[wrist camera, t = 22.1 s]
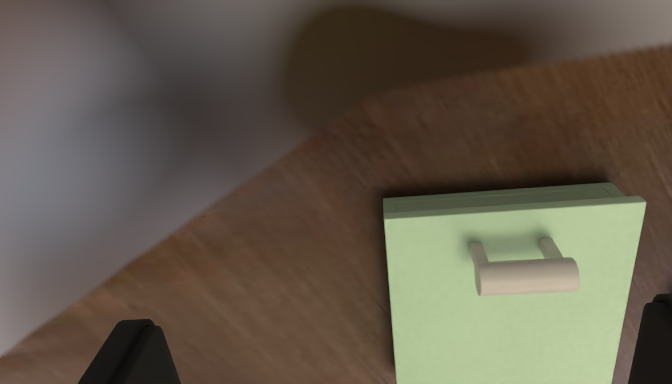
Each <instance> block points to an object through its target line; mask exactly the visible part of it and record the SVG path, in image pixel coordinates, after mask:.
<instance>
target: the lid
mask: <svg viewBox="0 0 672 384" xmlns="http://www.w3.org/2000/svg"><path fill="white" fill-rule="evenodd" d="M645 207H646V201H645V200H644V199H643V198H642V197H640V196H631V197H616V198H601V199H587V200H572V201H557V202H542V203H527V204H513V205H498V206H483V207H468V208H453V209H439V210H424V211H409V212H394V213H384V228H385V241H386V254H387V267H388V280H389V293H390V306H391V319H392V332H393V345H394V358H395V371H396V384H611V382H612V377H613V372H614V367H615V361H616V356H617V351H618V346H619V341H620V336H621V331H622V325H623V320H624V315H625V310H626V305H627V300H628V294H629V289H630V284H631V279H632V274H633V269H634V264H635V258H636V253H637V248H638V243H639V238H640V233H641V228H642V222H643V217H644V212H645Z"/></svg>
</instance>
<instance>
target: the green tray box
mask: <svg viewBox="0 0 672 384" xmlns="http://www.w3.org/2000/svg"><path fill="white" fill-rule="evenodd" d="M616 197H626V196H625V195H624V194H623V193H622V192H621V191H620V190H619V189H618V188H616V186H615V185H614V184H613V183H611V182H607V183H593V184H579V185H565V186H551V187H537V188H523V189H508V190H494V191H480V192H466V193H452V194H438V195H423V196H409V197H395V198H384V199H383V210H384V213H394V212H409V211H424V210H439V209H453V208H468V207H483V206H498V205H513V204H527V203H542V202H557V201H572V200H587V199H601V198H616Z"/></svg>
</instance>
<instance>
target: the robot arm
mask: <svg viewBox="0 0 672 384" xmlns="http://www.w3.org/2000/svg"><path fill="white" fill-rule="evenodd" d="M78 384H181V383H180V380H179V377H178V374H177V371H176V368H175V365H174V362H173V359H172V356H171V353H170V351H169V348H168V345H167V342H166V339H165V336H164V333H163V330H162V328H161V327H160V326H155V325H154V323H153V322H152V321H151V320H150V319H139V320H122V321H120V322H119V323H118V324H117V325H116V326H115V328H114V329H113V331H112V332H111V334H110V335H109V337H108V338H107V340H106V341H105V343H104V344H103V346H102V347H101V349H100V350H99V352H98V353H97V355H96V356H95V358H94V360H93V361H92V363H91V364H90V366H89V367H88V369H87V370H86V372H85V373H84V375H83V376H82V378H81V379H80V381H79V382H78ZM628 384H672V294H659V295H656V296H655V297H654V299H653V302H652V303H647V304H646V305H645V306H644V310H643V314H642V319H641V324H640V329H639V334H638V338H637V343H636V348H635V353H634V357H633V362H632V367H631V372H630V377H629V381H628Z"/></svg>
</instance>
